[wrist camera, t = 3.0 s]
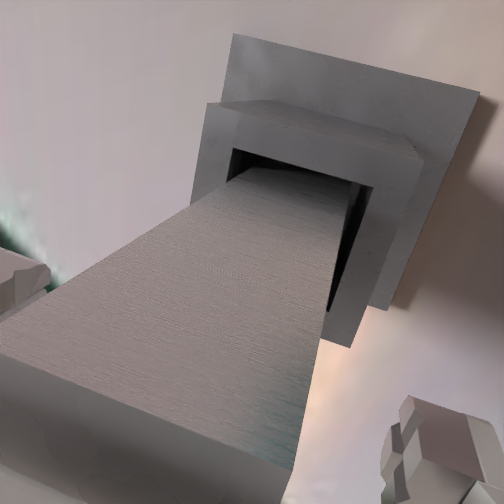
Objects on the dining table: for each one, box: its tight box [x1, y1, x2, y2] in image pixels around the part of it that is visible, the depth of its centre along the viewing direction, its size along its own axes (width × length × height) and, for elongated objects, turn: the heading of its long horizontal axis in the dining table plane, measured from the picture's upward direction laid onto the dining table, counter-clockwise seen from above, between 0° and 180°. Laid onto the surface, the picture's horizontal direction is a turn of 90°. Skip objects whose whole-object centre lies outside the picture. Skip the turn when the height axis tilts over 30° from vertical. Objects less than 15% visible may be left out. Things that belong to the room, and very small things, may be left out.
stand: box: [190, 33, 480, 348], centre depth 21 cm, size 14×14×14 cm
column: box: [0, 157, 353, 504], centre depth 15 cm, size 4×4×22 cm
